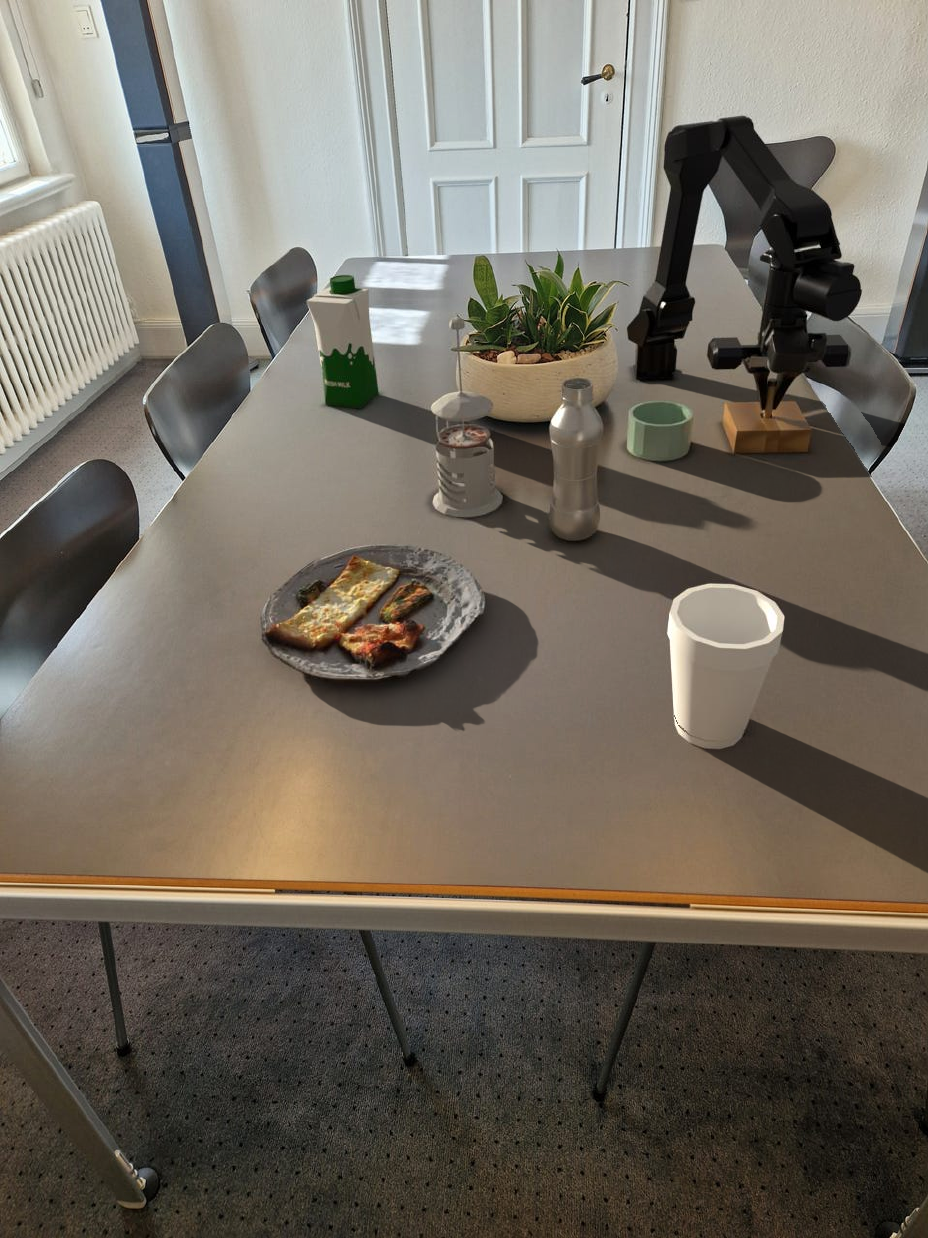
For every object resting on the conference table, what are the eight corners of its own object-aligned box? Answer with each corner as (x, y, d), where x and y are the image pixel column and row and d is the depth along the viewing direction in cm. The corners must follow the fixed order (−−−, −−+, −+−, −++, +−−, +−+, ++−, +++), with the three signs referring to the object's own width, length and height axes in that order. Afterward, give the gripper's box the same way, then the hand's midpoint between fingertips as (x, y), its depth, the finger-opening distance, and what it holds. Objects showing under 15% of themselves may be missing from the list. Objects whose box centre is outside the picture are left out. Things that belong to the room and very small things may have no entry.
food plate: (391, 722, 83) (387, 695, 81) (220, 651, 93) (213, 626, 91) (516, 592, 99) (515, 567, 97) (359, 544, 110) (355, 521, 108)
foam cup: (647, 696, 84) (658, 588, 76) (739, 687, 84) (759, 578, 76) (674, 766, 76) (689, 654, 68) (776, 756, 77) (802, 643, 69)
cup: (629, 461, 125) (631, 426, 121) (624, 434, 132) (627, 401, 129) (693, 460, 124) (697, 425, 120) (685, 433, 131) (688, 399, 128)
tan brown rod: (759, 439, 128) (769, 381, 123) (758, 435, 129) (767, 378, 124) (768, 439, 128) (778, 381, 123) (766, 435, 129) (776, 377, 124)
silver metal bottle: (606, 525, 111) (613, 375, 99) (589, 551, 106) (595, 397, 94) (559, 517, 113) (560, 370, 101) (541, 542, 108) (540, 391, 96)
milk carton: (385, 392, 152) (372, 275, 140) (362, 411, 145) (345, 291, 133) (342, 387, 155) (325, 272, 143) (317, 406, 148) (297, 288, 136)
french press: (452, 524, 113) (438, 336, 98) (415, 489, 121) (397, 311, 106) (515, 504, 116) (511, 319, 101) (476, 472, 125) (466, 297, 110)
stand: (733, 453, 125) (736, 430, 123) (722, 423, 133) (725, 402, 131) (807, 452, 124) (812, 429, 122) (791, 422, 132) (795, 400, 130)
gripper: (725, 321, 111) (711, 433, 121) (874, 317, 109) (848, 430, 119) (713, 296, 120) (700, 402, 129) (850, 292, 118) (827, 399, 128)
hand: (768, 408), depth 126 cm, fingers closed on tan brown rod, 1 cm apart
